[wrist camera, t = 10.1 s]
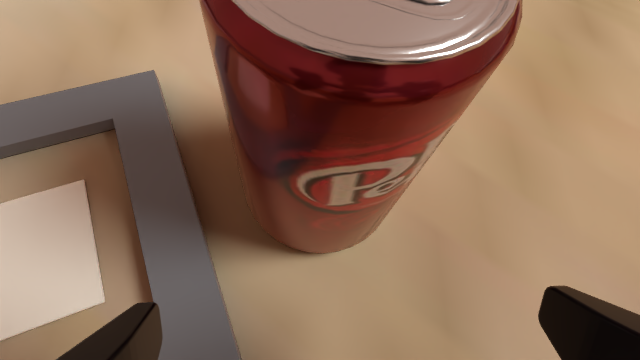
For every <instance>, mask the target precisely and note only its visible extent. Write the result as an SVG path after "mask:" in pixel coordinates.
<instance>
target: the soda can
mask: <svg viewBox="0 0 640 360" xmlns="http://www.w3.org/2000/svg"><path fill="white" fill-rule="evenodd" d="M199 2H200V6H201V10H202V15H203V19H204V23H205V27H206V32H207V36H208V40H209V45H210V49H211V53H212V57H213V62H214V66H215V70H216V74H217V79H218V83H219V87H220V91H221V96H222V100H223V104H224V108H225V113H226V117H227V121H228V125H229V130H230V134H231V138H232V142H233V147H234V151H235V155H236V159H237V164H238V168H239V172H240V176H241V181H242V185H243V189H244V193H245V197H246V201H247V205H248V207H249V209H250V211H251V213H252V215H253V217H254V218H255V220H256V221H257V222H258V223H259V225H260V226H261V227H262V228H263V229H264V231H266V232H267V233H268V234H269V235H271V236H272V237H273V238H274V239H276V240H277V241H279V242H281V243H283V244H285V245H287V246H289V247H291V248H294V249H298V250H301V251H304V252H313V253H328V252H337V251H340V250H343V249H347V248H350V247H352V246H354V245H356V244H358V243H359V242H361V241H363V240H365V239H366V238H367V237H368V236H369V235H371V234H372V233H373V232H374V231H375V230H376V229H377V228H378V226H379V225H380V224H381V222H382V221H383V220H384V218H385V217H386V215H387V214H388V213H389V211H390V210H391V209H392V207H393V206H394V205H395V203H396V202H397V201H398V199H399V198H400V197H401V195H402V194H403V193H404V191H405V190H406V189H407V187H408V186H409V185H410V183H411V182H412V181H413V179H414V178H415V177H416V175H417V174H418V173H419V171H420V170H421V169H422V167H423V166H424V164H425V163H426V162H427V160H428V159H429V158H430V156H431V155H432V154H433V152H434V151H435V150H436V148H437V147H438V146H439V144H440V143H441V142H442V140H443V139H444V138H445V136H446V135H447V134H448V132H449V131H450V130H451V128H452V127H453V126H454V124H455V123H456V122H457V120H458V119H459V118H460V116H461V115H462V113H463V112H464V111H465V109H466V108H467V107H468V105H469V104H470V103H471V101H472V100H473V99H474V97H475V96H476V95H477V93H478V92H479V91H480V89H481V88H482V87H483V85H484V84H485V83H486V81H487V80H488V79H489V77H490V76H491V75H492V73H493V72H494V71H495V69H496V68H497V67H498V65H499V64H500V62H501V61H502V60H503V58H504V57H505V56H506V54H507V53H508V52H509V50H510V49H511V48H512V46H513V44H514V41H515V38H516V35H517V32H518V29H519V26H520V23H521V18H522V0H199Z"/></svg>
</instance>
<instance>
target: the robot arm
mask: <svg viewBox="0 0 640 360" xmlns="http://www.w3.org/2000/svg"><path fill="white" fill-rule="evenodd" d="M538 318H539V322H540V325H541V327H542V328H543V330H544V332H545V333H546V335H547V337H548V338H549V340H550V342H551V343H552V345H553V347H554V348H555V350H556V351H557V353H558V355H559V356H560V358H561V360H640V315H638V314H636V313H633V312H631V311H628V310H626V309H623V308H621V307H618V306H616V305H613V304H611V303H608V302H605V301H603V300H600V299H598V298H595V297H593V296H590V295H588V294H585V293H583V292H580V291H578V290H575V289H573V288H570V287H568V286H550V287H547V288H546V290H545V292H544V295H543V299H542V302H541V306H540V310H539V314H538ZM162 339H163V333H162V325H161V318H160V310H159V306H158V304H157V303H155V302H148V303H137V304H135V305H133V306H132V307H130V308H129V309H127V310H126V311H125V312H123V313H122V314H120V315H119V316H117V317H116V318H115V319H113V320H112V321H110V322H109V323H107V324H106V325H105V326H103V327H102V328H100V329H99V330H97V331H96V332H95V333H93V334H92V335H90V336H89V337H87V338H86V339H85V340H83V341H82V342H80V343H79V344H77V345H76V346H75V347H73V348H72V349H70V350H69V351H67V352H66V353H65V354H63V355H62V356H60V357H59V358H57V359H56V360H158V357H159V353H160V350H161V346H162Z"/></svg>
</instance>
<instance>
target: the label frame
mask: <svg viewBox="0 0 640 360" xmlns="http://www.w3.org/2000/svg"><path fill="white" fill-rule="evenodd" d="M112 129H115V130H116V135H117V139H118V144H119V148H120V153H121V157H122V162H123V166H124V171H125V175H126V180H127V184H128V189H129V193H130V198H131V202H132V207H133V211H134V216H135V220H136V225H137V229H138V234H139V238H140V243H141V247H142V252H143V256H144V261H145V265H146V270H147V275H148V279H149V284H150V288H151V293H152V297H153V302H155V303H157V304H158V306H159V310H160V318H161V325H162V333H163V339H162V346H161V350H160V353H159V357H158V360H242V359H241V356H240V352H239V349H238V346H237V342H236V339H235V336H234V332H233V329H232V325H231V322H230V319H229V315H228V312H227V309H226V305H225V302H224V299H223V295H222V292H221V288H220V285H219V282H218V278H217V275H216V272H215V268H214V265H213V262H212V258H211V255H210V252H209V248H208V245H207V241H206V238H205V235H204V231H203V228H202V225H201V221H200V218H199V215H198V211H197V208H196V205H195V201H194V198H193V194H192V191H191V188H190V184H189V181H188V178H187V174H186V171H185V168H184V164H183V161H182V158H181V154H180V151H179V147H178V144H177V141H176V137H175V134H174V131H173V127H172V124H171V121H170V117H169V114H168V110H167V107H166V104H165V100H164V97H163V94H162V90H161V87H160V84H159V80H158V78H157V76H156V74H155V71H154V70H151V71H147V72H143V73H138V74H134V75H130V76H125V77H121V78H116V79H112V80H108V81H103V82H99V83H94V84H90V85H86V86H81V87H77V88H72V89H68V90H64V91H59V92H55V93H51V94H46V95H42V96H37V97H33V98H29V99H24V100H20V101H15V102H11V103H7V104H2V105H0V158H4V157H8V156H12V155H16V154H20V153H24V152H27V151H31V150H35V149H39V148H43V147H47V146H50V145H54V144H58V143H62V142H66V141H70V140H73V139H77V138H81V137H85V136H89V135H93V134H96V133H100V132H104V131H108V130H112ZM104 302H105V297H104V291H103V285H102V280H101V274H100V268H99V262H98V256H97V250H96V244H95V238H94V233H93V227H92V221H91V215H90V209H89V203H88V197H87V191H86V186H85V180H84V179H83V180H80V181H76V182H73V183H69V184H66V185H62V186H59V187H55V188H52V189H48V190H45V191H41V192H38V193H35V194H31V195H28V196H24V197H21V198H17V199H14V200H10V201H7V202H3V203H0V341H2V340H5V339H7V338H10V337H13V336H16V335H18V334H21V333H24V332H26V331H29V330H32V329H34V328H37V327H40V326H42V325H45V324H48V323H50V322H53V321H56V320H59V319H61V318H64V317H67V316H69V315H72V314H75V313H77V312H80V311H83V310H85V309H88V308H91V307H93V306H96V305H99V304H102V303H104Z"/></svg>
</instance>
